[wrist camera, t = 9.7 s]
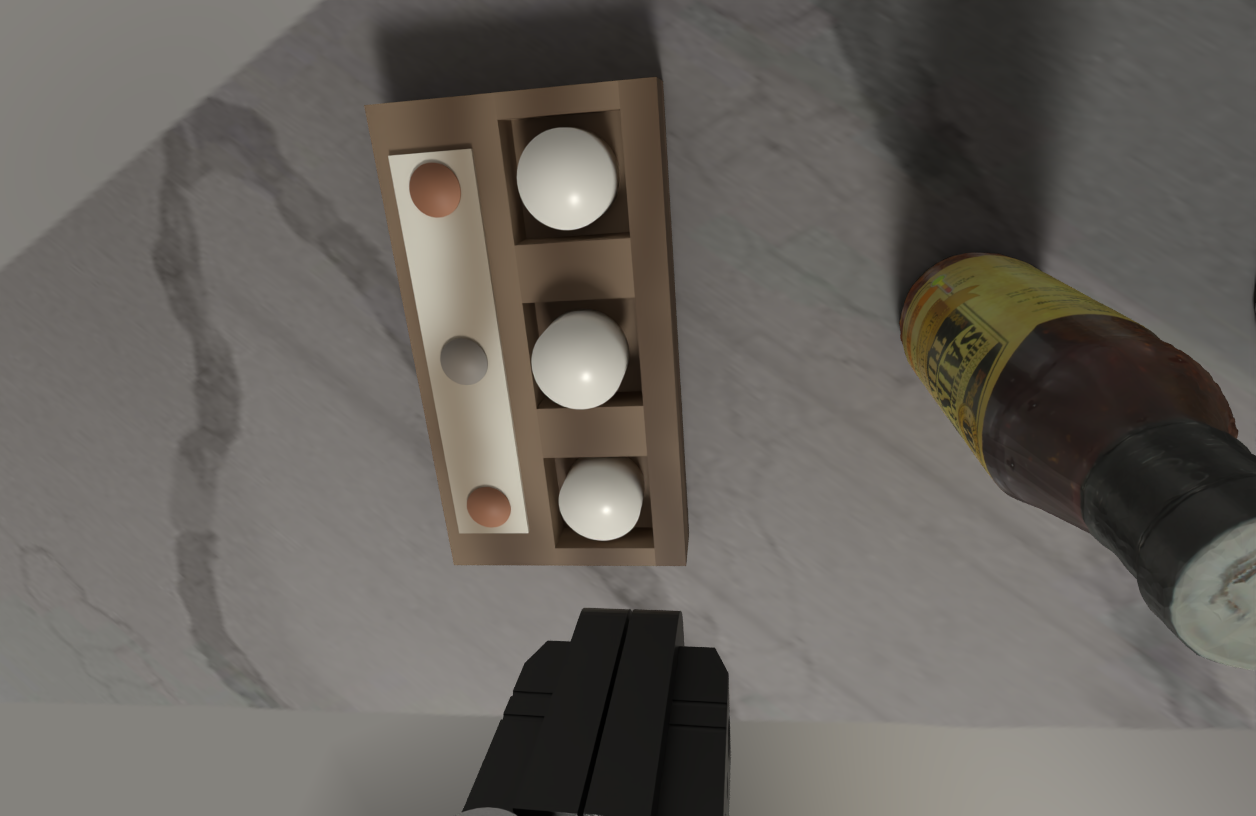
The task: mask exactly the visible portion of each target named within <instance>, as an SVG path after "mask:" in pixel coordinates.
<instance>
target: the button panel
mask: <svg viewBox="0 0 1256 816" xmlns="http://www.w3.org/2000/svg"><path fill="white" fill-rule="evenodd" d="M364 106H365V111H366V117H367V122H368V127H369V132H370V137H371V142H372V147H373V152H374V158H375V163H376V168H377V173H378V178H379V183H380V188H381V193H382V199H383V204H384V209H385V214H386V219H387V224H388V229H389V234H390V239H391V245H392V250H393V255H394V260H395V265H396V270H397V275H398V280H399V286H400V291H401V296H402V301H403V306H404V311H405V316H406V321H407V327H408V332H409V337H410V342H411V347H412V352H413V357H414V362H415V367H416V373H417V378H418V383H419V388H420V393H421V398H422V403H423V408H424V414H425V419H426V424H427V429H428V434H429V439H430V444H431V449H432V455H433V460H434V465H435V470H436V475H437V480H438V485H439V490H440V495H441V501H442V506H443V511H444V516H445V521H446V526H447V531H448V536H449V542H450V547H451V552H452V557H453V562H454V565H577V566H686V561H687V551H688V540H689V524H688V507H687V490H686V472H685V455H684V438H683V420H682V403H681V386H680V368H679V351H678V334H677V316H676V299H675V282H674V264H673V247H672V230H671V212H670V195H669V178H668V160H667V143H666V126H665V108H664V91H663V81H662V80H660V79H659V78H658V77H649V78H639V79H628V80H618V81H608V82H598V83H588V84H577V85H567V86H557V87H547V88H536V89H526V90H516V91H506V92H496V93H485V94H475V95H465V96H455V97H445V98H434V99H424V100H414V101H404V102H393V103H383V104H373V105H364ZM572 127H575V128H582V129H586V130H589V131H591V132H593V133H595V134H597V135H598V136H600V137H601V138H602V139H603V140H604V141H605V142H606V143H607V144H608V145H609V147H610V148H611V149H612V151H613V153H614V155H615V157H616V159H617V162H618V166H619V172H620V183H619V189H618V193H617V195H616V198H615V200H614V202H613V204H612V205H611V206H610V208H609V209H608V210H607V211H606V212H605V213H604V214H603V215H602V216H600V217H599V218H597V219H596V220H595V221H593V222H592V223H590V224H588V225H587V226H584V227H582V228H579V229H574V230H560V229H555V228H552V227H549V226H547V225H545V224H543V223H542V222H540V221H539V220H537V219H536V218H535V217H534V216H533V215H532V214H531V213H530V212H529V211H528V209H527V208H526V206H525V205H524V203H523V201H522V199H521V197H520V193H519V190H518V185H517V169H518V163H519V160H520V157H521V155H522V153H523V151H524V149H525V148H526V146H527V145H528V144H529V143H530V141H532V140H533V139H534V138H535V137H536V136H538V135H539V134H541V133H543V132H545V131H547V130H550V129H554V128H572ZM576 309H591V310H595V311H599V312H601V313H604V314H605V315H607V316H609V317H610V318H612V319H613V320H614V321H615V322H616V323H617V324H618V325H619V326H620V328H621V329H622V330H623V332H624V334H625V336H626V338H627V341H628V344H629V355H630V356H629V363H628V367H627V369H626V371H625V374H624V376H623V379H622V381H621V383H620V386H619V388H618V389H617V391H616V392H615V394H614V395H613V396H612V397H611V398H610V399H609V400H607V401H606V402H605V403H603V404H601V405H599V406H596V407H594V408H589V409H572V408H568V407H564V406H562V405H559V404H558V403H556V402H554V401H553V400H551V399H550V398H549V397H548V396H547V395H545V394H544V392H543V391H542V390H541V389H540V387H539V386H538V384H537V382H536V380H535V378H534V375H533V371H532V362H531V361H532V353H533V349H534V346H535V344H536V342H537V340H538V339H539V337H540V336H541V335H542V334H543V332H544V331H545V330H546V329H547V328H548V327H549V326H550V325H551V323H552V322H553V321H554V320H555V319H556V318H558V317H559V316H560V315H562V314H564V313H566V312H569V311H572V310H576ZM621 456H627V457H628V458H629V459H631V460H632V461H633V462H634V463H635V464H636V465H637V466H638V468H639V469H640V471H641V473H642V475H643V478H644V483H645V492H644V497H643V502H642V506H641V511H640V515H639V518H638V520H637V522H636V524H635V526H634V527H633V528H632V529H631V530H630V531H629V532H628V533H626V534H625V535H623V536H621V537H619V538H616V539H612V540H604V541H603V540H594V539H590V538H587V537H584V536H582V535H580V534H578V533H577V532H576V531H574V530H573V529H572V528H571V527H570V526H569V525H568V524H567V523H566V521H565V520H564V518H563V516H562V514H561V511H560V508H559V494H560V490H561V488H562V486H563V483H564V481H565V479H566V477H567V475H568V472H569V470H570V468H571V466H572V465H573V463H574V462H575V461H576V460H577V459H578V458H579V457H621Z"/></svg>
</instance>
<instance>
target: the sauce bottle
mask: <svg viewBox="0 0 1256 816" xmlns="http://www.w3.org/2000/svg"><path fill="white" fill-rule="evenodd" d="M899 324H900V330H901V335H900V337H901V341H902V344H903V347H904V351H905V354H906V357H907V360H908V362H909V364H910V366H911V367H912V369H913V370H914V372H915V373H916V374H917V376H918V377H919V379H920V380H921V381H922V383H923V384H924V386H925V387H926V388H927V390H928V391H929V393H930V394H931V395H932V397H933V398H934V399H935V401H936V402H937V404H938V405H939V406H940V408H941V409H942V411H943V412H944V414H945V415H946V416H947V418H948V419H949V420H950V422H951V423H952V424H953V426H954V427H955V428H956V430H957V431H958V433H959V434H960V435H961V437H962V438H963V439H964V441H965V442H966V443H967V445H968V446H969V448H970V449H971V451H972V452H973V453H974V455H975V456H976V458H977V459H978V460H979V462H980V463H981V465H982V466H983V467H984V469H985V470H986V471H987V473H988V474H989V475H990V477H991V478H992V479H993V481H994V482H995V483H996V484H997V485H998V487H999V488H1000V489H1001V490H1002V491H1004V492H1005V493H1006V494H1007V495H1009V496H1011V497H1013V498H1015V499H1017V500H1019V501H1022V502H1024V503H1027V504H1029V505H1032V506H1034V507H1037V508H1040V509H1042V510H1044V511H1046V512H1048V513H1050V514H1052V515H1054V516H1056V517H1058V518H1060V519H1062V520H1064V521H1066V522H1068V523H1070V524H1072V525H1074V526H1076V527H1078V528H1080V529H1082V530H1084V531H1086V532H1088V533H1090V534H1091V535H1092V536H1093V537H1094V538H1095V539H1097V540H1098V541H1099V542H1100V543H1101V544H1102V545H1103V546H1105V547H1106V548H1108V549H1109V550H1111V551H1112V552H1113V553H1114V554H1115V555H1116V556H1117V557H1118V558H1119V559H1120V560H1121V562H1122V563H1123V565H1124V566H1125V567H1126V568H1127V570H1128V571H1129V572H1130V573H1131V574H1132V575H1133V576H1134V577H1135V578H1136V579H1137V582H1138V586H1139V590H1140V593H1141V595H1142V597H1143V599H1144V601H1145V602H1146V604H1147V605H1148V607H1149V609H1150V610H1151V611H1152V612H1153V613H1154V614H1155V615H1156V616H1157V617H1159V618H1160V619H1161V620H1162V621H1163V622H1164V624H1165V625H1166V626H1167V627H1168V628H1169V629H1170V630H1171V631H1172V632H1173V633H1174V634H1175V635H1176V636H1177V637H1178V638H1179V639H1180V640H1181V641H1182V642H1183V643H1184V644H1185V645H1186V646H1187V647H1188V648H1190V649H1191V650H1192V651H1193V652H1194V653H1196V654H1197V655H1199V656H1201V657H1204V658H1206V659H1209V660H1212V661H1214V662H1217V663H1220V664H1224V665H1228V666H1232V667H1237V668H1242V669H1247V670H1256V456H1255V455H1253V454H1251V452H1250V451H1249V449H1248V448H1247V447H1246V446H1245V445H1244V444H1243V443H1241V442H1240V441H1239V440H1237V436H1238V429H1237V428H1236V425H1235V418H1234V417H1233V414H1232V411H1231V409H1230V407H1229V404H1228V401H1227V400H1226V398H1225V396H1224V395H1223V393H1222V391H1221V388H1220V387H1219V385H1218V384H1217V383H1215V382H1214V381H1213V378H1212V377H1211V375H1210V374H1209V372H1207V371H1206V370H1205V369H1204V368H1203V367H1202V366H1201V365H1200V364H1199V363H1198V362H1196V361H1195V360H1193V359H1192V358H1191V357H1190V356H1189V355H1187V354H1185V353H1184V352H1183V351H1181V350H1178V349H1176V348H1175V347H1174V346H1173V345H1171V344H1169V343H1166V342H1164V341H1162V340H1160V339H1159V338H1158V337H1157V336H1156V335H1155V334H1154V333H1153V332H1151V331H1150V330H1148V329H1147V328H1145V327H1144V326H1142V325H1140V324H1139V323H1137V322H1135V321H1133V320H1131V319H1129V318H1128V317H1126V316H1124V315H1122V314H1120V313H1118V312H1117V311H1115V310H1113V309H1111V308H1109V307H1107V306H1105V305H1103V304H1101V303H1099V302H1097V301H1095V300H1094V299H1092V298H1090V297H1088V296H1086V295H1085V294H1083V293H1081V292H1079V291H1077V290H1076V289H1074V288H1072V287H1070V286H1068V285H1066V284H1064V283H1063V282H1061V281H1059V280H1057V279H1055V278H1053V277H1052V276H1050V275H1048V274H1046V273H1044V272H1042V271H1040V270H1039V269H1037V268H1035V267H1034V266H1032V265H1030V264H1028V263H1026V262H1023V261H1020V260H1017V259H1014V258H1010V257H1007V256H1004V255H1001V254H991V253H964V254H960V255H955V256H952V257H949V258H947V259H944V260H942V261H940V262H938V263H937V264H936V265H934V266H933V267H931V268H929V269H928V270H927V271H926V272H925V273H924V274H923V275H922V276H921V277H920V278H919V279H918V280H917V281H916V282H915V283H914V284H913V286H912V287H911V289H910V291H909V292H908V295H907V297H906V300H905V302H904V307H903V309H902V313H901V319H900V323H899Z"/></svg>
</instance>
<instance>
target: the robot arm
mask: <svg viewBox="0 0 1256 816" xmlns="http://www.w3.org/2000/svg"><path fill="white" fill-rule="evenodd" d="M1255 311H1256V305H1255ZM730 763H731V747H730V710H729V674H728V671H727V670H726V668H725V666H724V664H723V662H722V660H721V658H720V656H719V654H718V653H717V651H716V649H715V648H709V647H687V646H684V632H683V617H682V612H681V611H666V610H638V609H634V610H633V612H632V611H631V609H604V608H583V609H582V611H581V613H580V616H579V619H578V622H577V625H576V627H575V630H574V633H573V636H572V639H571V642H568V641H547V642H546V643H545V644H544V645H543V646H542V647H541V648H540V649H539V650H538V651H537V652H536V653H535V654H534V655H533V656H532V657H531V658H530V659H528V660H527V661H526V662H525V664H524V666H523V668H522V671H521V673H520V675H519V678H518V680H517V683H516V685H515V687H514V690H513V696H511V697H510V699H509V702H508V704H507V706H506V709H505V711H504V716H503V720H501V721H500V723H499V726H498V728H497V730H496V733H495V735H494V737H493V740H492V742H491V744H490V747H489V749H488V752H487V754H486V756H485V759H484V761H483V763H482V766H481V768H480V771H479V773H478V775H477V778H476V780H475V783H474V785H473V787H472V790H471V792H470V794H469V797H468V799H467V802H466V804H465V806H464V808H463V811H462V813H459V814H457V815H455V816H729V800H730V797H729V796H730Z"/></svg>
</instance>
